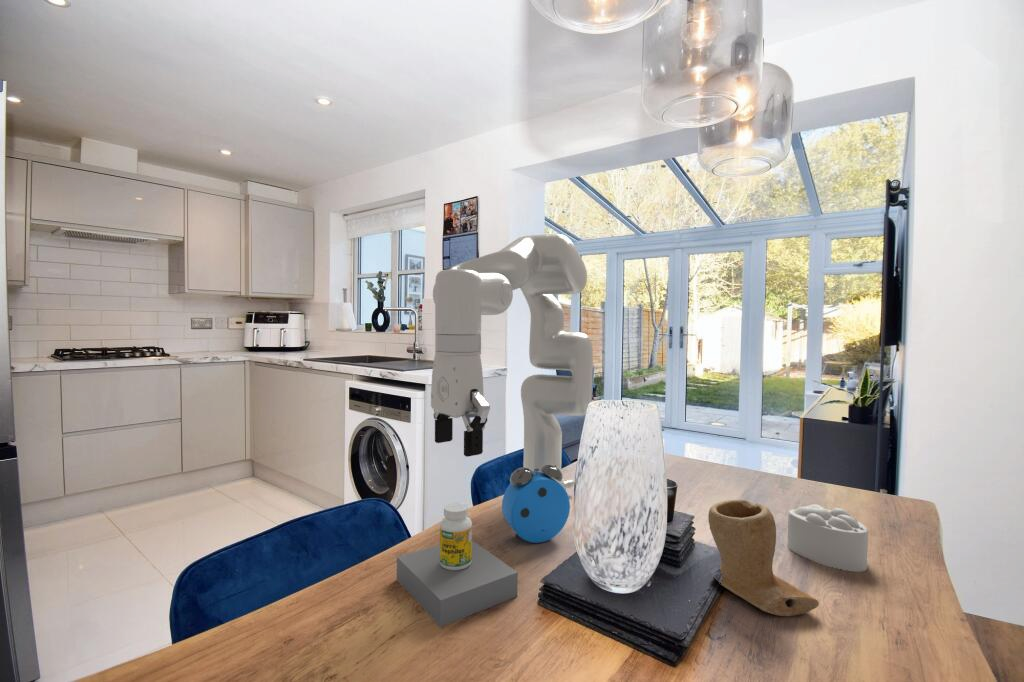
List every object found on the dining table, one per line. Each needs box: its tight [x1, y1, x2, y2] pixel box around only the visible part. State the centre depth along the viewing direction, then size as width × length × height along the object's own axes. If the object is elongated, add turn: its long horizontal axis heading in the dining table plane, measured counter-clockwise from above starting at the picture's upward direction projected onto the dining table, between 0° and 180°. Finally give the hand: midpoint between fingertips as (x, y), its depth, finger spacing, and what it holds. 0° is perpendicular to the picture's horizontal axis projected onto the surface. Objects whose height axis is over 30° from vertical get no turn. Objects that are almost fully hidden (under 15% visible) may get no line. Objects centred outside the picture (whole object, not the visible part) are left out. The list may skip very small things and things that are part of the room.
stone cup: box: [707, 499, 820, 617], centre depth 80 cm, size 15×12×15 cm
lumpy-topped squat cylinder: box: [786, 503, 869, 573], centre depth 95 cm, size 10×13×9 cm
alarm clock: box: [501, 465, 571, 544], centre depth 100 cm, size 13×6×15 cm, turn 112°
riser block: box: [396, 539, 519, 628], centre depth 81 cm, size 14×16×4 cm
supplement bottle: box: [439, 502, 473, 571], centre depth 81 cm, size 5×5×10 cm
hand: (457, 448), depth 81 cm, fingers open, 9 cm apart
